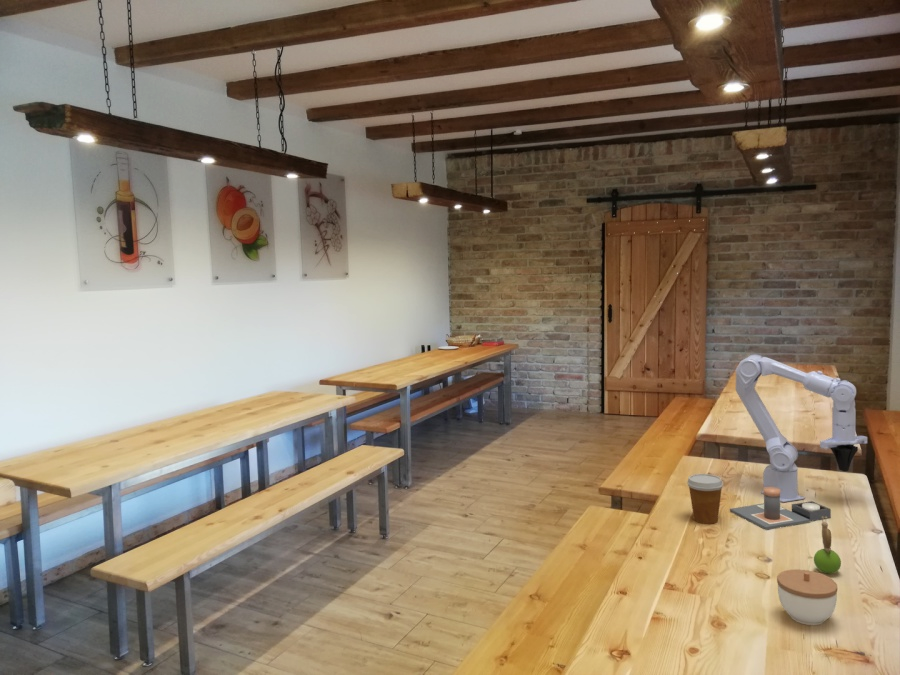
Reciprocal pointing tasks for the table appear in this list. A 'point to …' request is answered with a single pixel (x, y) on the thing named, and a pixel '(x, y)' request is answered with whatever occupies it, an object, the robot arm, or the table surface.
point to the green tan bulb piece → (827, 553)
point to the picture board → (757, 517)
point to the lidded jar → (807, 595)
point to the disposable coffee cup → (705, 497)
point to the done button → (810, 506)
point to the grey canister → (771, 503)
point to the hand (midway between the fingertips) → (843, 470)
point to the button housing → (813, 514)
